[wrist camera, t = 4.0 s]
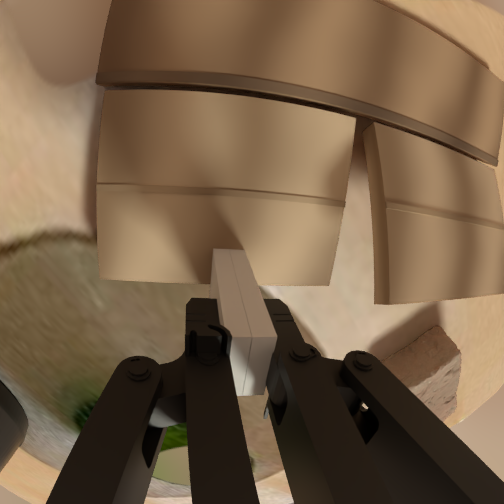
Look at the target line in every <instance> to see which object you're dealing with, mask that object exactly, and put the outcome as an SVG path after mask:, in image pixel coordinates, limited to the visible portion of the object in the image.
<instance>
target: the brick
mask: <svg viewBox="0 0 504 504" xmlns="http://www.w3.org/2000/svg"><path fill="white" fill-rule="evenodd" d="M381 363H382V364H383V365H384V366H386V367H387V368H388V369H389V370H390V371H391V372H392V373H393V374H394V375H395V376H396V377H397V378H398V379H399V380H400V381H401V382H402V383H403V384H404V385H405V386H406V387H407V388H408V389H409V390H410V391H411V392H412V393H413V394H414V395H415V396H417V397H418V398H419V399H420V400H421V401H422V402H423V403H424V404H425V405H426V406H427V407H428V408H429V409H430V410H431V411H432V412H433V413H434V414H435V415H436V416H437V417H438V418H439V419H440V420H441V421H442V422H443V421H444V420H445V419H446V418H447V417H448V416H450V415H451V414H452V413H454V412H455V409H456V408H457V400H456V396H457V395H456V391H457V387H458V383H459V377H460V372H461V366H460V364H461V352H460V350H459V349H457V346H456V344H455V343H454V342H453V341H452V340H451V339H450V338H449V337H448V336H447V335H446V333H445V331H444V330H443V329H442V328H441V327H439V326H435V327H434V328H432V329H430V330H429V331H427V332H425V333H424V334H423V335H422V336H421V337H419V338H418V339H417V340H415V341H414V342H413V343H411V344H410V345H408V346H407V347H406V348H404V349H403V350H400V351H399V352H397V353H396V354H393V355H391V356H390V357H388V358H387V359H385V360H384V361H382V362H381Z"/></svg>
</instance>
